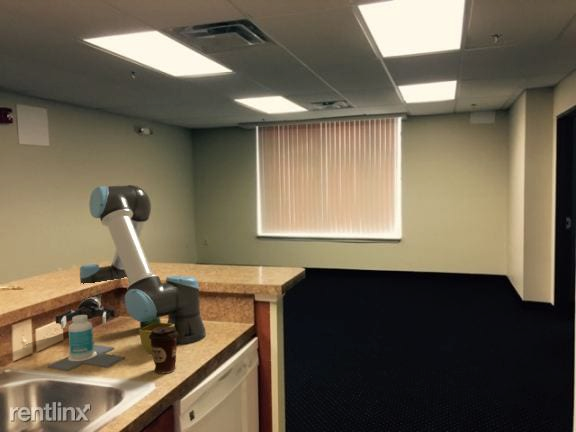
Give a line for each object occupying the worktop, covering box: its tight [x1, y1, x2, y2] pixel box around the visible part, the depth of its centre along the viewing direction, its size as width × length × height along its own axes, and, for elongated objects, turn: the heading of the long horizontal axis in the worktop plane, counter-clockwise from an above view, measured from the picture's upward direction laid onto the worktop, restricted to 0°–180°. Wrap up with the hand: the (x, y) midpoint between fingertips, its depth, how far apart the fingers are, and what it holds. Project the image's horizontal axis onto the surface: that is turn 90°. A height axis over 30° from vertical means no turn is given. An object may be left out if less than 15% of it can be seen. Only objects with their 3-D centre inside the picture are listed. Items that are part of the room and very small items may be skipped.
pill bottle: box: [67, 315, 95, 359], centre depth 157 cm, size 8×7×14 cm
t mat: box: [47, 344, 126, 372], centre depth 156 cm, size 19×20×1 cm
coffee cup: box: [149, 327, 178, 374], centre depth 144 cm, size 9×8×13 cm
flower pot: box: [138, 322, 174, 355], centre depth 160 cm, size 9×9×9 cm
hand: (83, 322), depth 165 cm, fingers open, 13 cm apart
